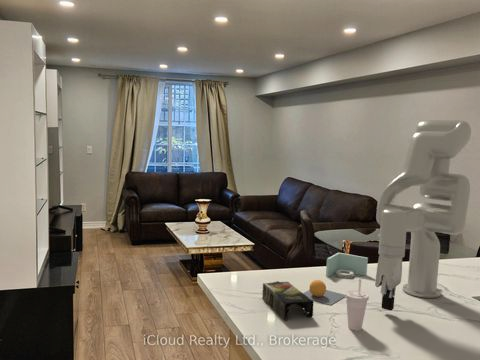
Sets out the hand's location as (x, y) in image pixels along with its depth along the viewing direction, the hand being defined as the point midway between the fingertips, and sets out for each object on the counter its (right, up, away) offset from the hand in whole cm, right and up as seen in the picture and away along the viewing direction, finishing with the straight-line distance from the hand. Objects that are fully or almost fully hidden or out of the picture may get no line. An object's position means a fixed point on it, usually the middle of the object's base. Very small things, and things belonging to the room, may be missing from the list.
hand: (387, 308), depth 143 cm
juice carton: (-31, -1, +2) cm, 31 cm away
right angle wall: (-4, +2, +38) cm, 38 cm away
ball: (-19, +3, +13) cm, 23 cm away
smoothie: (-13, -2, -11) cm, 17 cm away
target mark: (-17, +1, +13) cm, 22 cm away
